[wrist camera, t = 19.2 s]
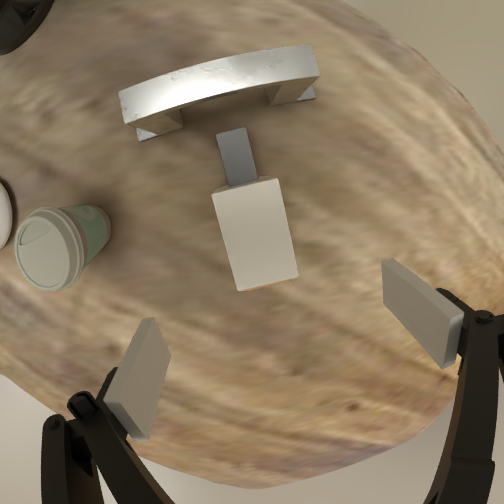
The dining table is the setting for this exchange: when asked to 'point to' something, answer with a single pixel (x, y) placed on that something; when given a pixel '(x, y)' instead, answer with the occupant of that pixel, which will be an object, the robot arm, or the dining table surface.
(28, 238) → the coffee cup
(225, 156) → the plug
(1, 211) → the flower in vase
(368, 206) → the dining table surface
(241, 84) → the bar
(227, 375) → the dining table surface
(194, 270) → the dining table surface
